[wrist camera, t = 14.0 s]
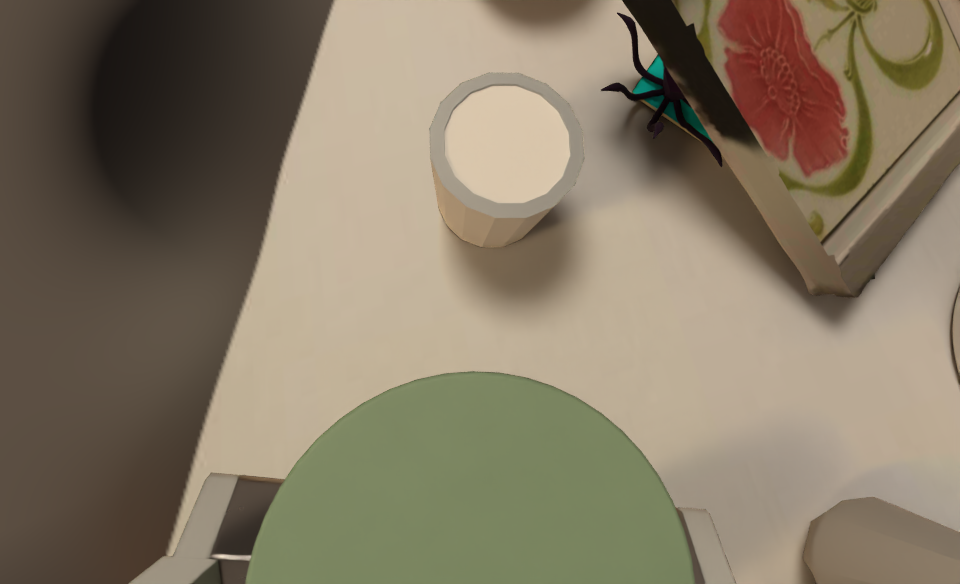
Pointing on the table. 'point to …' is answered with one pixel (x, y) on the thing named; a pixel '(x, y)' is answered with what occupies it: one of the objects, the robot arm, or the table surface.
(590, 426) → the green cylinder
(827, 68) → the decorative tile
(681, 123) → the diorama
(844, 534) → the salt shaker
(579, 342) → the table surface
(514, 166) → the white cup
